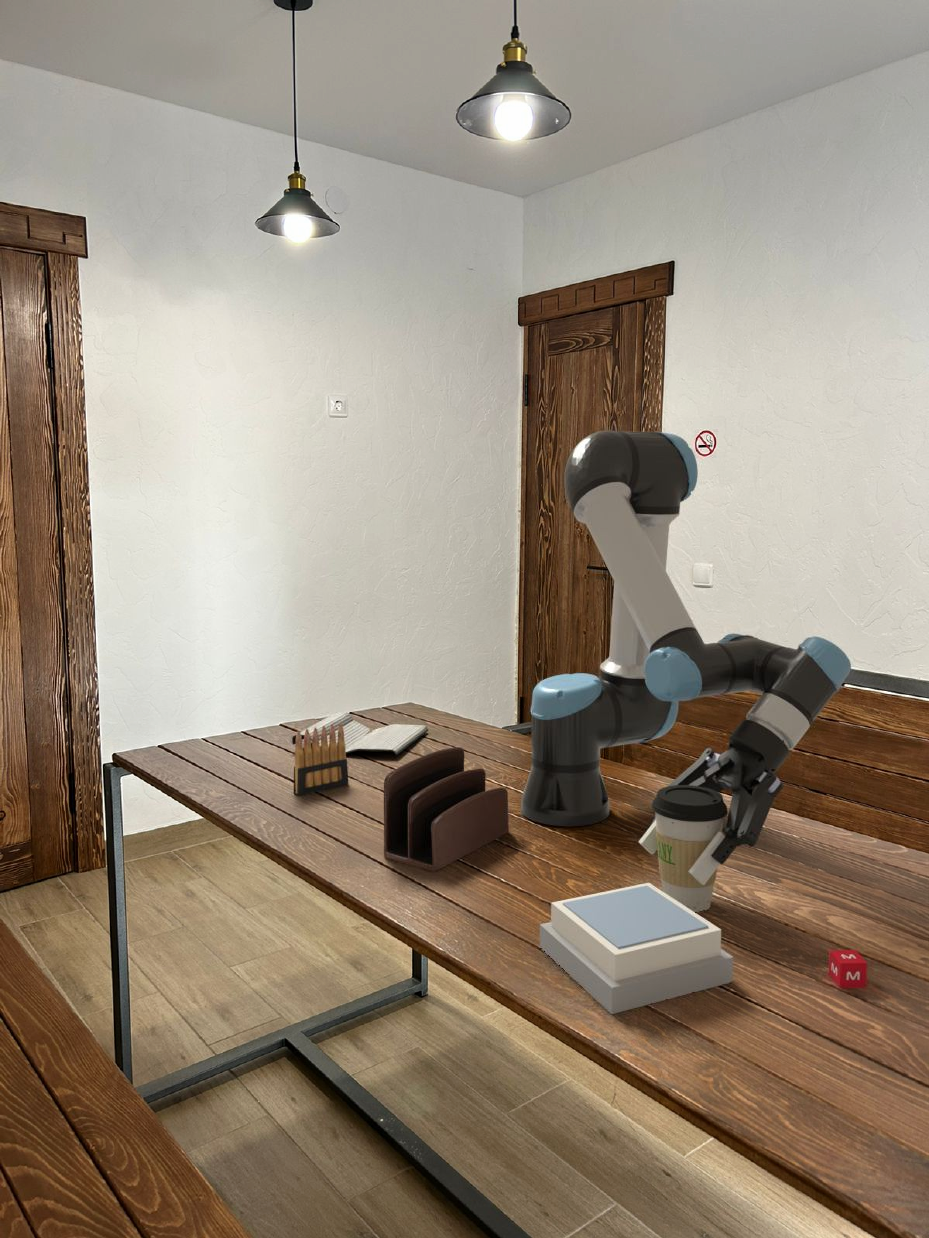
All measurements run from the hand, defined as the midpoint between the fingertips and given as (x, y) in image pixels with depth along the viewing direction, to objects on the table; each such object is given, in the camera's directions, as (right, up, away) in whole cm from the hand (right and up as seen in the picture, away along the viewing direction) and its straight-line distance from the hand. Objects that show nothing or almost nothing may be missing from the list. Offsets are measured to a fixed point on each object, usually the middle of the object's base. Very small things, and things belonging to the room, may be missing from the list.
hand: (669, 862), depth 124 cm
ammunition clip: (-54, 0, +51) cm, 74 cm away
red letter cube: (+16, -9, -18) cm, 26 cm away
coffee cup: (+3, -6, +2) cm, 7 cm away
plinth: (-8, -8, -14) cm, 18 cm away
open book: (-50, +4, +83) cm, 97 cm away
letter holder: (-30, -4, +23) cm, 38 cm away
